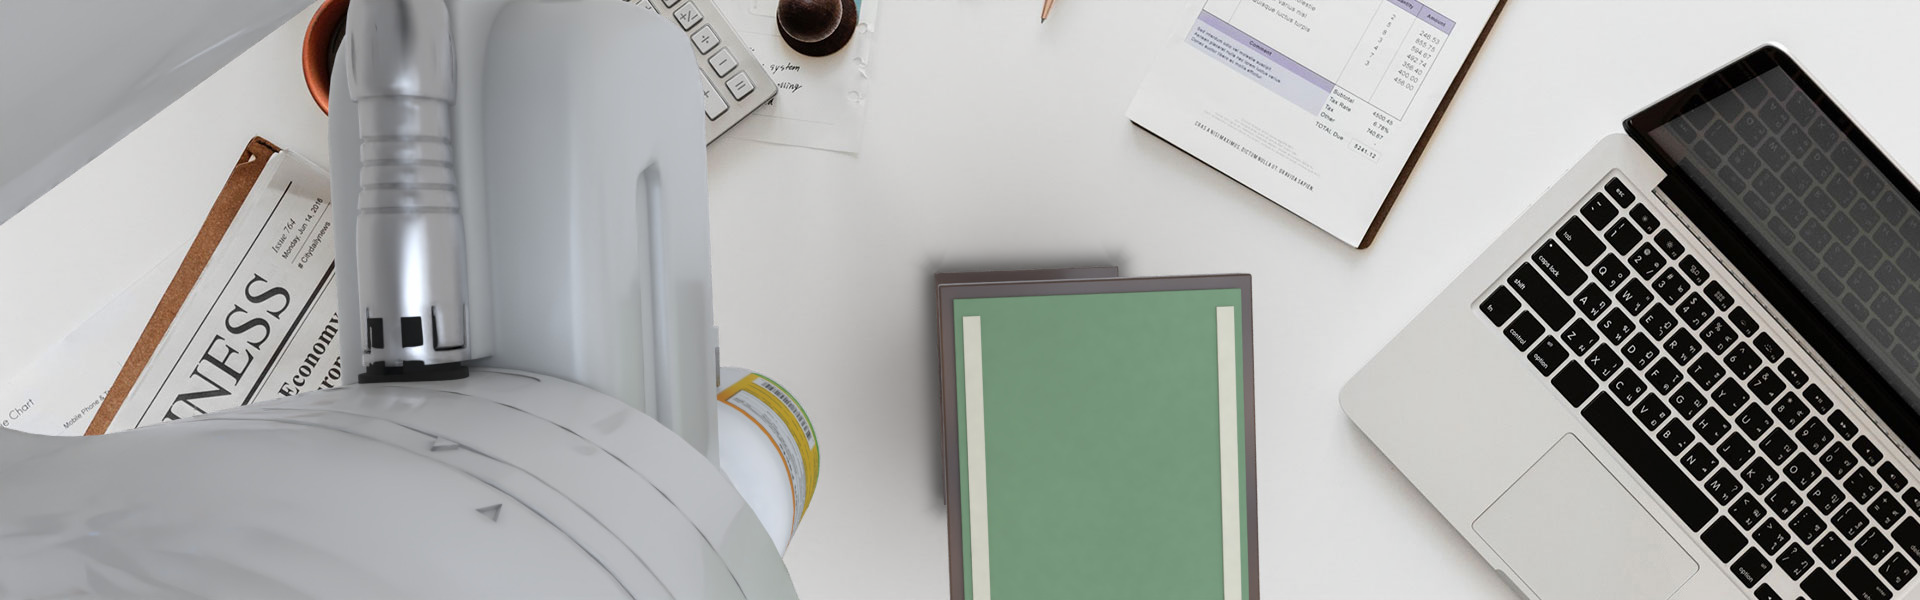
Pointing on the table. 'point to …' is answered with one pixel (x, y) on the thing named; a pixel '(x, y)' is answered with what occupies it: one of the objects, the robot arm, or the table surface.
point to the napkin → (1102, 446)
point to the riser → (1071, 284)
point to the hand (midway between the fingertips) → (692, 494)
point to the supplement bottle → (767, 450)
